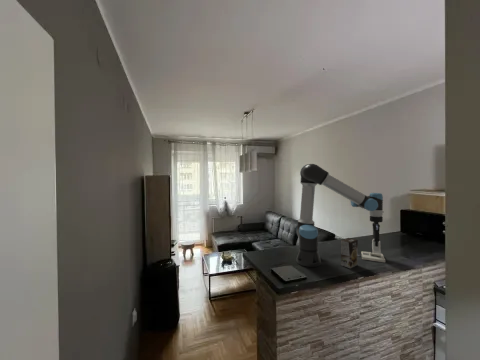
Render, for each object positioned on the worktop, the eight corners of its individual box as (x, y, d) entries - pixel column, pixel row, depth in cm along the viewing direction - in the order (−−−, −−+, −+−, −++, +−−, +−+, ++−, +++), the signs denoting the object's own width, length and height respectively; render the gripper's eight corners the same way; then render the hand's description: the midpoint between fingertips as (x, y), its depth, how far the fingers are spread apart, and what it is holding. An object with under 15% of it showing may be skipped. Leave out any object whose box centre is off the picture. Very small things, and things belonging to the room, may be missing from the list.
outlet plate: (362, 259, 149) (362, 256, 149) (361, 253, 160) (361, 251, 160) (385, 262, 143) (385, 259, 143) (382, 256, 154) (382, 253, 154)
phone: (352, 257, 154) (352, 256, 154) (346, 251, 165) (346, 250, 165) (361, 257, 153) (361, 256, 153) (354, 252, 164) (354, 250, 164)
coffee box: (350, 268, 134) (350, 242, 134) (340, 265, 140) (340, 240, 139) (358, 265, 140) (358, 239, 139) (348, 261, 145) (348, 237, 144)
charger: (372, 253, 150) (372, 241, 150) (372, 250, 154) (372, 239, 154) (380, 253, 148) (380, 242, 148) (379, 251, 152) (379, 240, 152)
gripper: (384, 218, 141) (384, 254, 142) (380, 213, 157) (380, 246, 157) (370, 217, 144) (370, 253, 145) (368, 213, 160) (368, 245, 161)
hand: (375, 249), depth 151 cm, fingers closed on charger, 4 cm apart
